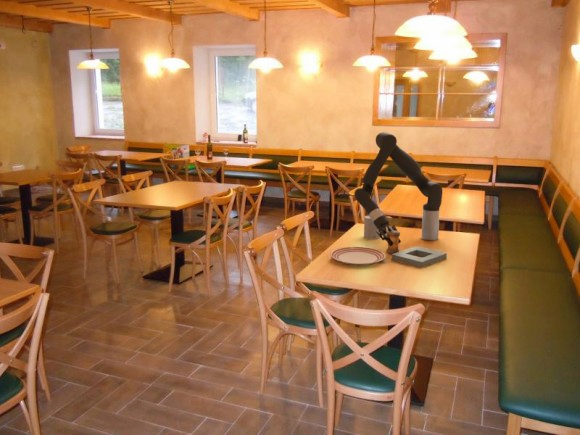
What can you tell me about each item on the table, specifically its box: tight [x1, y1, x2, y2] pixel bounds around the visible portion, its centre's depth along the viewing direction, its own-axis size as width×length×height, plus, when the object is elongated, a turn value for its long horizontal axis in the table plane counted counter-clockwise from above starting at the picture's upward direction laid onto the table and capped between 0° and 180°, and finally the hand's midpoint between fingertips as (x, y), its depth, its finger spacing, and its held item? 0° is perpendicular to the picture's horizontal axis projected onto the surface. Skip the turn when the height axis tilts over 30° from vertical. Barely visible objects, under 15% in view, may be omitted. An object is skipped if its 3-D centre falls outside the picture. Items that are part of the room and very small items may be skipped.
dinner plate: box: [330, 246, 386, 266], centre depth 266 cm, size 27×27×3 cm
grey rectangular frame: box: [391, 245, 448, 269], centre depth 266 cm, size 22×18×3 cm
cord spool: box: [386, 230, 401, 255], centre depth 278 cm, size 7×7×11 cm
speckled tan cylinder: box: [363, 214, 381, 240], centre depth 307 cm, size 10×10×12 cm
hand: (395, 244), depth 277 cm, fingers open, 6 cm apart
